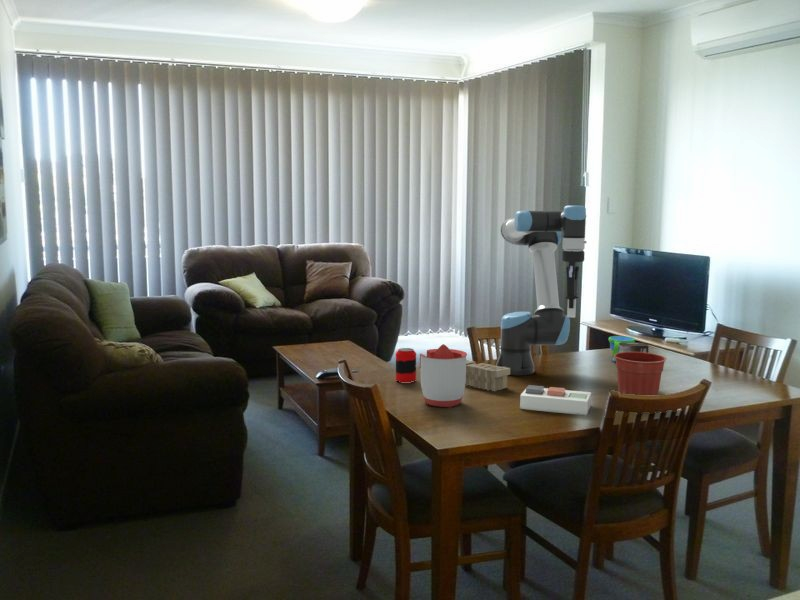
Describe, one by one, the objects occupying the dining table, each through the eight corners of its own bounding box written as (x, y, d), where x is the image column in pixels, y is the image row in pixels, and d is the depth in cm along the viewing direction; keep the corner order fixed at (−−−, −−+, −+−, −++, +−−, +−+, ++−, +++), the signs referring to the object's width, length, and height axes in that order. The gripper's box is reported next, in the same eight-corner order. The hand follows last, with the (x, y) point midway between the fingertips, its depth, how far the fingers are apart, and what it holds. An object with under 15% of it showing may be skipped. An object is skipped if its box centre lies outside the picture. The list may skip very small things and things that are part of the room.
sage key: (568, 406, 241) (569, 397, 240) (570, 402, 245) (571, 393, 245) (584, 407, 239) (585, 398, 239) (586, 403, 244) (586, 394, 243)
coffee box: (642, 385, 274) (644, 342, 272) (647, 389, 267) (649, 345, 265) (617, 385, 274) (619, 342, 272) (621, 389, 268) (623, 345, 266)
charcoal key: (525, 397, 245) (525, 388, 245) (528, 393, 250) (528, 385, 250) (540, 398, 244) (541, 389, 243) (543, 395, 248) (543, 386, 248)
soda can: (420, 380, 280) (420, 349, 278) (406, 384, 274) (406, 352, 273) (405, 377, 285) (405, 346, 283) (391, 381, 279) (391, 349, 278)
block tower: (436, 381, 284) (496, 393, 263) (435, 359, 283) (496, 369, 262) (450, 377, 290) (510, 389, 269) (449, 356, 289) (510, 365, 268)
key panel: (520, 408, 243) (520, 395, 242) (527, 399, 254) (527, 386, 254) (586, 415, 236) (587, 401, 235) (590, 405, 247) (591, 392, 246)
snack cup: (625, 366, 304) (626, 342, 302) (601, 363, 310) (602, 339, 309) (640, 360, 316) (641, 336, 315) (616, 357, 322) (617, 334, 321)
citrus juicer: (426, 394, 261) (426, 337, 258) (473, 400, 253) (473, 342, 251) (407, 405, 247) (407, 345, 244) (456, 411, 239) (457, 350, 237)
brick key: (547, 399, 243) (547, 390, 243) (549, 395, 248) (549, 386, 247) (562, 400, 241) (562, 391, 241) (564, 397, 246) (565, 388, 246)
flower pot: (672, 403, 249) (675, 356, 247) (649, 413, 238) (651, 364, 236) (627, 394, 261) (629, 349, 259) (602, 403, 249) (604, 356, 247)
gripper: (582, 251, 253) (579, 320, 256) (586, 249, 265) (584, 315, 268) (559, 251, 255) (557, 319, 259) (565, 248, 267) (563, 313, 271)
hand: (571, 317), depth 263 cm, fingers closed
